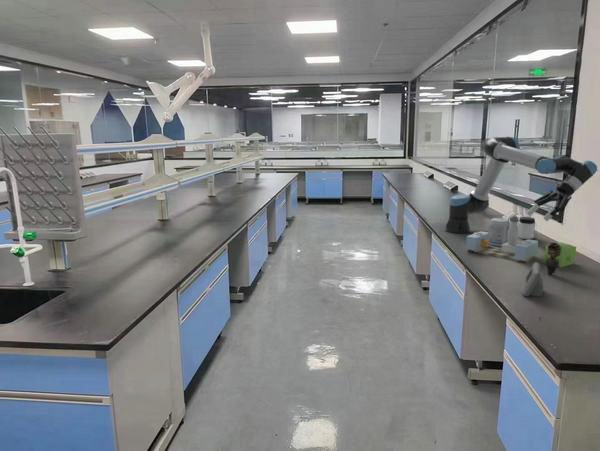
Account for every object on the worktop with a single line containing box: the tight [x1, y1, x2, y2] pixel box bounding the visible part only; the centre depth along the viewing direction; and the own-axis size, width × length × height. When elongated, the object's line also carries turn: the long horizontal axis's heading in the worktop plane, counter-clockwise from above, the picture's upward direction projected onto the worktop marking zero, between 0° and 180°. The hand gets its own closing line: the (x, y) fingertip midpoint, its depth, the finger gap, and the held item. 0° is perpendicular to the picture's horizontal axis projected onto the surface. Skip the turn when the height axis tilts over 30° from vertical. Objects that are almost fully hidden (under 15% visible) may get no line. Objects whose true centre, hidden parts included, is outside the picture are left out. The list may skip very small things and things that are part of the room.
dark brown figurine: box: [545, 242, 562, 276], centre depth 183 cm, size 6×6×15 cm
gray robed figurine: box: [521, 262, 544, 297], centre depth 165 cm, size 16×9×11 cm, turn 139°
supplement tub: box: [488, 217, 510, 247], centre depth 233 cm, size 10×10×15 cm
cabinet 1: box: [465, 231, 489, 250], centre depth 224 cm, size 5×16×8 cm, turn 132°
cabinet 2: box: [514, 239, 539, 261], centre depth 206 cm, size 5×16×8 cm, turn 132°
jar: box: [516, 216, 536, 240], centre depth 248 cm, size 9×8×12 cm
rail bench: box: [467, 245, 536, 264], centre depth 216 cm, size 30×12×2 cm, turn 42°
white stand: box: [501, 215, 519, 254], centre depth 210 cm, size 7×6×19 cm
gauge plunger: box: [481, 239, 490, 247], centre depth 222 cm, size 6×3×3 cm, turn 42°
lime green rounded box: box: [543, 241, 578, 268], centre depth 198 cm, size 18×10×10 cm, turn 117°
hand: (536, 216), depth 208 cm, fingers open, 13 cm apart
